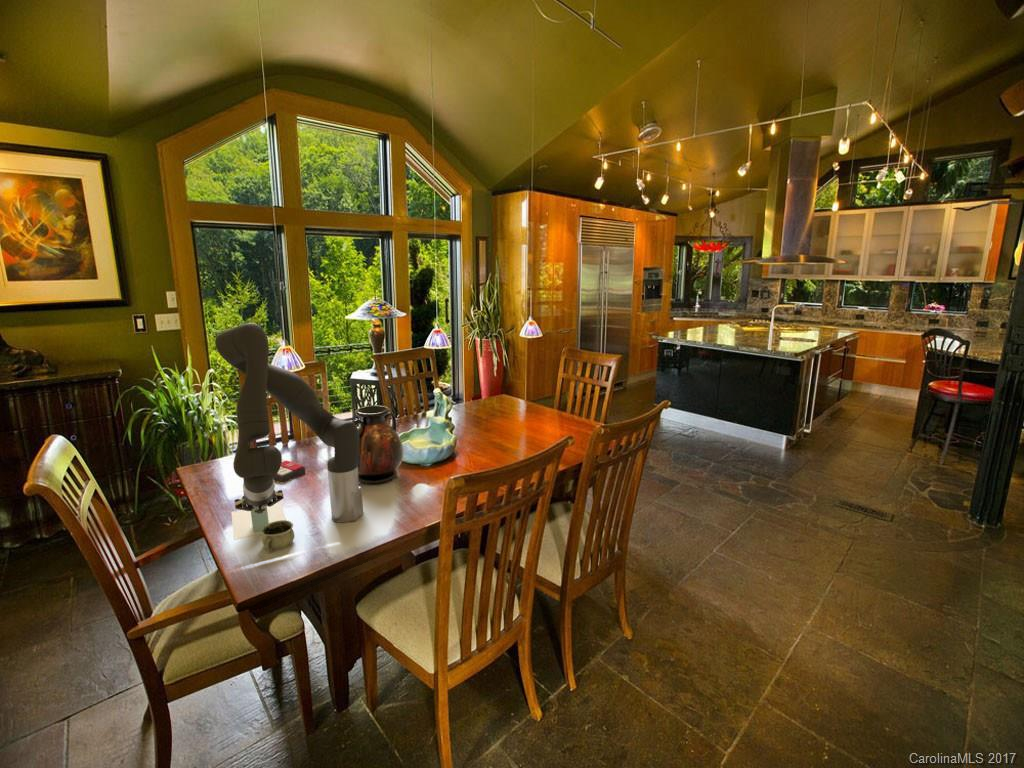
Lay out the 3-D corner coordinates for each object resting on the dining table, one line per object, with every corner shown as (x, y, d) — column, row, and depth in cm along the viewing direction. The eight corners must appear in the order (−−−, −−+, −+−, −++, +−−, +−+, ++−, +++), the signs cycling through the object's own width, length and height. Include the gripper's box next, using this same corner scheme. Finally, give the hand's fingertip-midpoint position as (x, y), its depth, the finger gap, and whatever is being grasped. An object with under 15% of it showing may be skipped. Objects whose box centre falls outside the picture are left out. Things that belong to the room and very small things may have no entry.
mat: (288, 528, 156) (288, 526, 156) (234, 541, 149) (234, 539, 149) (280, 503, 173) (280, 501, 173) (231, 514, 165) (231, 512, 165)
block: (269, 529, 155) (264, 487, 151) (253, 532, 152) (248, 490, 149) (267, 523, 158) (263, 482, 155) (252, 526, 156) (247, 485, 153)
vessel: (276, 535, 153) (274, 516, 151) (304, 536, 152) (302, 518, 151) (253, 556, 141) (250, 537, 140) (282, 559, 140) (280, 539, 139)
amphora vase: (386, 463, 210) (383, 399, 203) (415, 478, 195) (412, 409, 189) (338, 477, 195) (332, 409, 189) (365, 494, 180) (360, 421, 174)
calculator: (281, 475, 189) (256, 465, 196) (282, 485, 190) (256, 475, 197) (305, 465, 198) (280, 456, 205) (306, 475, 200) (280, 466, 206)
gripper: (283, 470, 140) (281, 493, 153) (229, 480, 133) (233, 503, 146) (287, 494, 136) (286, 516, 149) (233, 506, 130) (236, 528, 143)
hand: (259, 510), depth 148 cm, fingers closed
